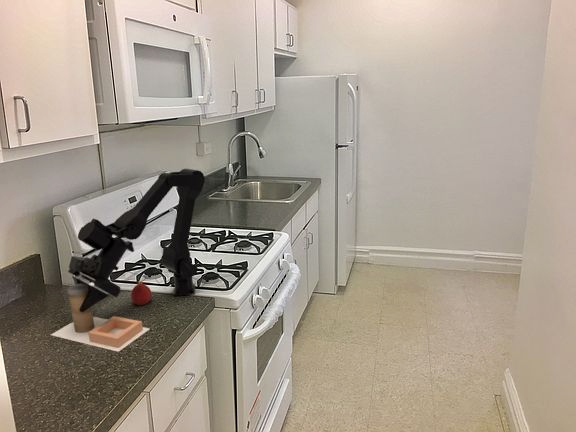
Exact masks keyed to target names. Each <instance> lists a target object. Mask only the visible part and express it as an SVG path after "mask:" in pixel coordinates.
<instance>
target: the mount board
mask: <svg viewBox="0 0 576 432" xmlns="http://www.w3.org/2000/svg"><path fill="white" fill-rule="evenodd" d="M93 320H94V328H93V329H95V328H96V327H98V326H99V325H101V324H103V323H104V322H106V321H107V320H108V319H106V318H102V317H97V316H93ZM142 327H143V330H142V331H141V332H139V333H138V334H137V335H135V336H134V337H133V338H131V339H130V340H129V341H127V342H126V343H125V344H123V345H122V346H121V347H119V348H118V347H113V346H109V345H104V344H99V343H95V342H90V340H89V334H88V333H89V332H90V331H92V330H93V329H92V330H90V331H88V332H84V333H77V332H75V329H74V323H73V321H72V322H70V323H69V324H67V325H65V326H63V327H62V328H59V329H58V330H56V331H55V332H53V333H51V334H50V336H52V337H57V338H62V339H65V340H70V341H72V342H73V341H74V342H77V343H81V344H86V345H90V346H94V347H98V348H102V349H106V350H110V351H114V352H117V353H118V352H120V351H121V350H123V349H124V348H125V347H127V346H128V345H130V344H131V343H132V342H134V341H135V340H136V339H138V338H139V337H141V336H142V335H144V334H145V333H146V332H148V331H149V330H150V328H148V327H144V326H142ZM124 330H125V329H120V328H114V329H113V330H111V331H110V332H108V333H109V334H114V335H118V334H119V333H121V332H122V331H124Z"/></svg>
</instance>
